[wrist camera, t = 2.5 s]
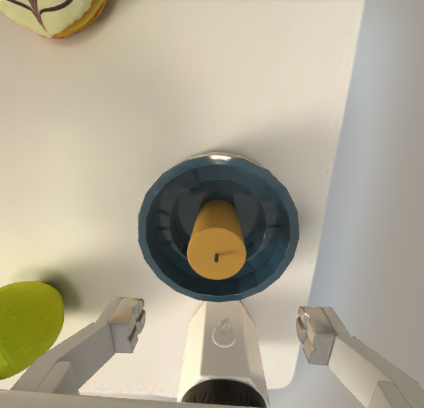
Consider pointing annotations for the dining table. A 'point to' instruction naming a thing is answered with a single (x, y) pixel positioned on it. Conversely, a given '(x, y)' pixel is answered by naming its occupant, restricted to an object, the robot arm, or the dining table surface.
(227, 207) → the candle
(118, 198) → the dining table surface
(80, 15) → the decorated donut
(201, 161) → the bowl
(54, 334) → the fruit
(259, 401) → the jar
